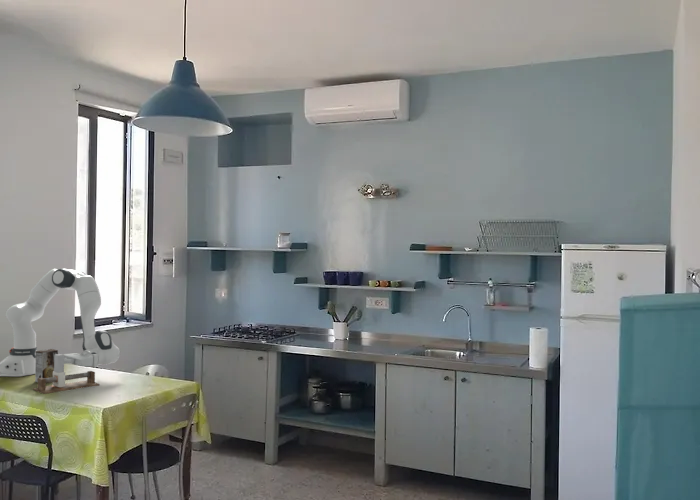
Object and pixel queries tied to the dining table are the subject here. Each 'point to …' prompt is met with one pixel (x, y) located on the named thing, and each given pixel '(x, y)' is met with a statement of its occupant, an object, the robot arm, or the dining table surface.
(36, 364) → the coffee box
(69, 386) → the pipe stand
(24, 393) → the dining table surface
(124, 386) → the dining table surface
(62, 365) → the collar
